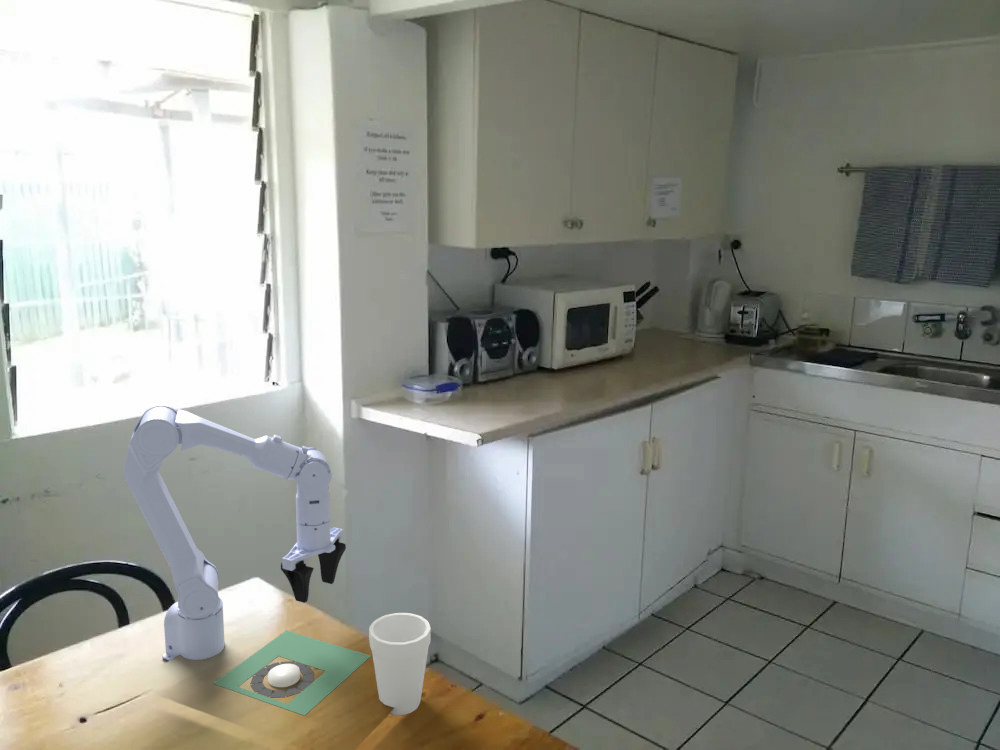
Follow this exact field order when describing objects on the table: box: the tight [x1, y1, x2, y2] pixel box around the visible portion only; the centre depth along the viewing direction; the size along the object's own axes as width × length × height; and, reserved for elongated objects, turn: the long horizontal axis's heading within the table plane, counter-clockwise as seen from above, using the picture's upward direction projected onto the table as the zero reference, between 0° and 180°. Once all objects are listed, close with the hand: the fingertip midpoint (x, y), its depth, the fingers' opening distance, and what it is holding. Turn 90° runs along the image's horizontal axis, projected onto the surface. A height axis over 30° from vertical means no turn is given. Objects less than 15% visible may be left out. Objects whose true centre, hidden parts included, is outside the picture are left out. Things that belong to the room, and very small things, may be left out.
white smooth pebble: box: [267, 664, 301, 688], centre depth 130 cm, size 5×5×2 cm
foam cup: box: [368, 612, 432, 716], centre depth 125 cm, size 10×9×13 cm
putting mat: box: [212, 629, 372, 717], centre depth 132 cm, size 18×18×2 cm
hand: (315, 591), depth 142 cm, fingers open, 7 cm apart
